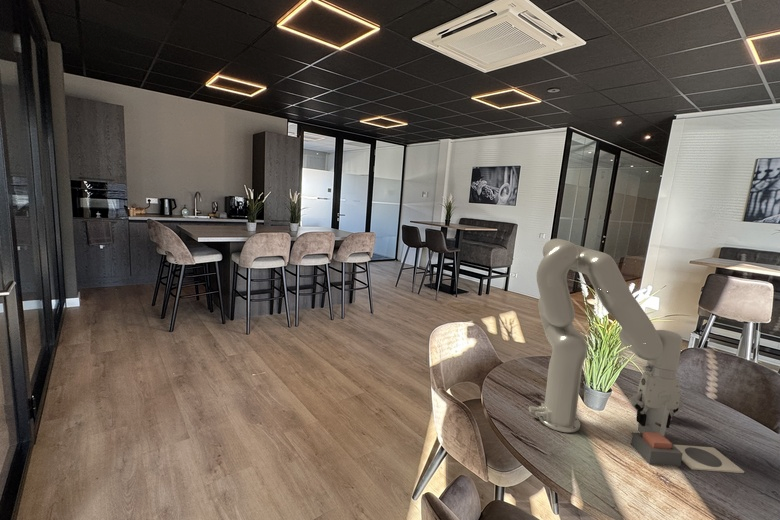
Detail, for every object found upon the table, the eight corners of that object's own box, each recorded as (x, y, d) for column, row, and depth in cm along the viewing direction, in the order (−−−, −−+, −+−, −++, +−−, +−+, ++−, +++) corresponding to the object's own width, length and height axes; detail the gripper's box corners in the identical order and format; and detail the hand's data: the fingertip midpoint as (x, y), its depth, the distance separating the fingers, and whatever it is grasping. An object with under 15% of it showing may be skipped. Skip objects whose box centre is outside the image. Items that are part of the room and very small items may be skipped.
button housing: (649, 464, 100) (651, 451, 99) (630, 444, 108) (632, 432, 107) (680, 466, 99) (682, 453, 99) (659, 446, 108) (661, 434, 107)
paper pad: (691, 469, 98) (691, 467, 98) (665, 445, 108) (665, 443, 108) (744, 473, 98) (744, 471, 98) (713, 448, 108) (713, 447, 108)
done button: (652, 452, 101) (654, 442, 101) (641, 441, 106) (643, 431, 105) (670, 453, 101) (672, 443, 100) (658, 442, 106) (660, 433, 105)
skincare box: (636, 431, 115) (642, 396, 113) (643, 427, 117) (648, 393, 115) (658, 442, 110) (664, 405, 108) (665, 438, 112) (671, 402, 110)
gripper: (640, 374, 107) (631, 429, 109) (700, 378, 106) (690, 434, 109) (625, 363, 114) (617, 415, 117) (681, 367, 114) (672, 419, 116)
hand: (652, 424), depth 113 cm, fingers closed on skincare box, 6 cm apart
